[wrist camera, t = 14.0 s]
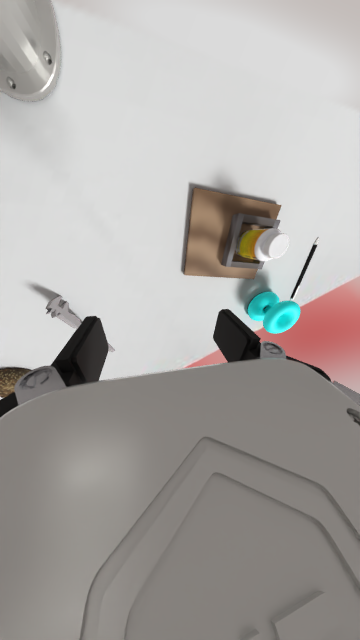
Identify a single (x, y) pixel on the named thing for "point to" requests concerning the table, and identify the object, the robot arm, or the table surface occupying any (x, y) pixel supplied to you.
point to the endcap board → (224, 233)
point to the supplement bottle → (262, 244)
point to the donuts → (273, 312)
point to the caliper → (65, 314)
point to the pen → (304, 269)
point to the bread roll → (10, 379)
